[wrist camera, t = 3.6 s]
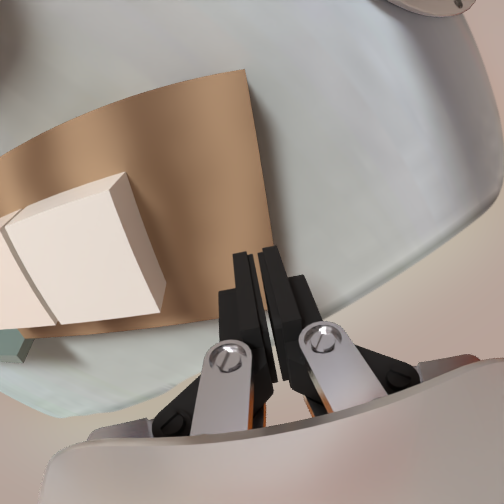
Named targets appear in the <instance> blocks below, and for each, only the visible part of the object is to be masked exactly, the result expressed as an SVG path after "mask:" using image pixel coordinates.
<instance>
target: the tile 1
mask: <svg viewBox="0 0 504 504" xmlns="http://www.w3.org/2000/svg"><path fill="white" fill-rule="evenodd" d="M21 211H22V208H21V209H19V210H17V211H14V212H12V213H10V214H8V215H5V216H3V217H1V218H0V330H3V329H17V328H30V327H41V326H52V325H56V324H57V322H58V319H57V318H56V316H55V315H54V313H53V312H52V310H51V309H50V307H49V306H48V304H47V303H46V301H45V300H44V298H43V297H42V295H41V293H40V292H39V290H38V289H37V287H36V285H35V284H34V282H33V280H32V278H31V277H30V275H29V273H28V272H27V270H26V268H25V266H24V264H23V263H22V261H21V259H20V257H19V255H18V253H17V251H16V249H15V247H14V245H13V243H12V241H11V239H10V237H9V235H8V233H7V231H6V229H5V226H6V225H7V224H8V223H9V222H10V221H11V220H12V219H13V218H14V217H16V216H17V215H18V214H19V213H20V212H21Z"/></svg>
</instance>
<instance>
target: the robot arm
mask: <svg viewBox="0 0 504 504" xmlns="http://www.w3.org/2000/svg"><path fill="white" fill-rule="evenodd" d="M388 1H389V2H391V3H392V4H395V5H397V6H399V7H401V8H404V9H406V10H408V11H411V12H414V13H417V14H421V15H424V16H432V17H446V16H454V15H458V14H462V13H463V12H465V11H467V10H468V9H470V7H471V6H472V5H473V4H474V2H475V1H476V0H388ZM262 251H263V252H259V253H257V254H258V260H259V265H260V271H261V276H262V281H263V287H264V292H265V298H266V303H267V309H268V314H269V318H270V323H271V328H272V332H273V337H274V341H275V346H276V351H277V355H278V360H279V365H280V369H281V374H282V379H283V381H286V380H289V383H290V387H291V388H292V390H294V391H296V392H298V393H301V394H303V398H304V401H305V403H306V405H307V407H308V409H309V412H310V414H311V416H312V418H309V419H305V420H300V421H295V422H291V423H285V424H280V425H275V426H269V427H266V401H267V400H268V399H269V398H270V397H271V396H272V394H273V391H274V390H273V385H272V383H276V382H278V379H277V374H276V369H275V363H274V358H273V353H272V347H271V342H270V337H269V332H268V327H267V322H266V317H265V312H264V307H263V302H262V297H261V292H260V287H259V282H258V277H257V272H256V267H255V262H254V257H253V254H249V255H247V251H244V252H239V253H234V254H232V256H233V267H234V277H235V288H233V289H227V290H222V291H219V292H218V305H219V338H220V342H219V343H216V344H215V345H213V346H212V347H211V348H210V349H209V350H208V351H207V352H206V355H205V357H204V361H203V366H202V371H201V375H200V376H199V377H198V378H197V379H196V380H194V381H193V382H192V383H191V384H190V385H189V386H188V387H187V388H186V389H185V390H184V391H183V392H181V393H180V394H179V395H178V396H177V397H176V398H175V399H174V400H173V401H171V403H169V404H168V405H167V406H166V407H165V408H164V409H163V410H161V411H160V412H159V413H158V415H157V416H156V417H155V418H154V419H151V420H148V419H147V418H143V419H139V420H135V421H130V422H126V423H121V424H117V425H112V426H108V427H102V428H99V429H96V430H94V431H93V432H92V433H91V434H90V435H89V437H88V439H87V441H85V442H80V443H76V444H74V445H71V446H68V447H66V448H64V449H62V450H60V451H58V452H57V453H56V454H54V455H53V456H52V458H51V459H50V460H49V462H48V465H47V467H46V469H45V472H44V475H43V478H42V482H41V487H40V491H39V497H38V504H504V358H493V359H486V360H480V359H478V358H477V357H476V356H473V355H470V354H464V355H459V356H454V357H449V358H443V359H438V360H432V361H426V362H419V363H418V365H417V366H411V365H409V364H407V363H405V362H402V361H399V360H396V359H393V358H391V357H388V356H385V355H382V354H379V353H376V352H374V351H371V350H368V349H365V348H362V347H360V346H357V345H354V343H353V342H352V341H351V339H350V338H349V336H348V335H347V334H346V332H345V330H344V329H343V328H341V326H339V325H337V324H335V323H333V322H328V321H323V320H322V318H321V316H320V313H319V311H318V308H317V306H316V303H315V301H314V298H313V296H312V293H311V291H310V288H309V286H308V284H307V281H306V279H305V277H304V275H298V276H293V277H288V278H287V275H286V272H285V269H284V266H283V263H282V260H281V257H280V254H279V251H278V249H277V246H276V245H275V246H270V247H265V248H262Z"/></svg>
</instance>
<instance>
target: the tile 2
mask: <svg viewBox="0 0 504 504" xmlns="http://www.w3.org/2000/svg"><path fill="white" fill-rule="evenodd" d="M5 229H6V231H7V233H8V235H9V237H10V239H11V241H12V243H13V245H14V247H15V249H16V251H17V253H18V255H19V257H20V259H21V261H22V263H23V264H24V266H25V268H26V270H27V272H28V273H29V275H30V277H31V278H32V280H33V282H34V284H35V285H36V287H37V289H38V290H39V292H40V293H41V295H42V297H43V298H44V300H45V301H46V303H47V304H48V306H49V307H50V309H51V310H52V312H53V313H54V315H55V316H56V318H57V319H58V321H59V322H60V324H61V325H63V324H72V323H82V322H91V321H99V320H108V319H116V318H124V317H132V316H139V315H147V314H154V313H160V312H161V307H162V302H163V297H164V293H165V288H166V280H165V278H164V276H163V273H162V271H161V268H160V266H159V263H158V261H157V258H156V256H155V253H154V251H153V248H152V245H151V243H150V240H149V237H148V235H147V232H146V229H145V227H144V224H143V221H142V218H141V216H140V213H139V210H138V207H137V204H136V201H135V198H134V195H133V192H132V189H131V186H130V183H129V180H128V177H127V174H126V171H125V172H122V173H119V174H115V175H112V176H109V177H106V178H103V179H100V180H96V181H93V182H90V183H87V184H84V185H82V186H79V187H76V188H73V189H70V190H67V191H65V192H62V193H59V194H57V195H54V196H51V197H49V198H46V199H43V200H41V201H38V202H36V203H33V204H31V205H29V206H27V207H25V208H24V209H23V210H22V211H21V212H20V213H19V214H18V215H17V216H16V217H14V218H13V219H12V220H11V221H10V222H9V223H8V224H7V225H6V226H5Z"/></svg>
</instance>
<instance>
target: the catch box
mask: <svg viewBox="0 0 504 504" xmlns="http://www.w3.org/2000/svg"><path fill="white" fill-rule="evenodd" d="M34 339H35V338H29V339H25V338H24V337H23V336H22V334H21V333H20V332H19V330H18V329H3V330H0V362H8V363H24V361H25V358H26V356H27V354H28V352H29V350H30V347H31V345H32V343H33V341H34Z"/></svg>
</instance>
